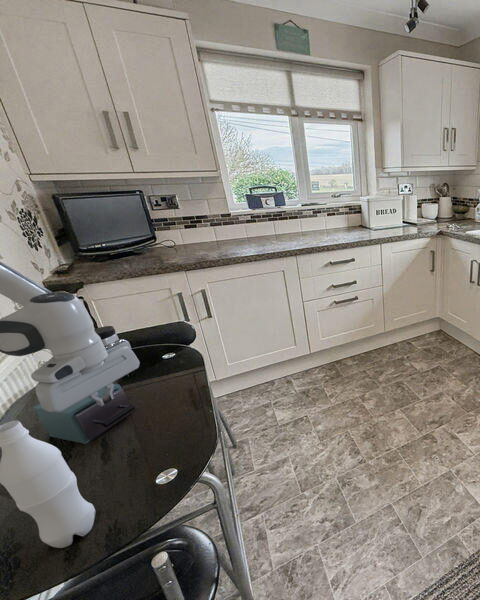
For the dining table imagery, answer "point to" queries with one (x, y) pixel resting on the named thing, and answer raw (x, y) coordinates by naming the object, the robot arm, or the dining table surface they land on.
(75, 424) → the drawer cabinet
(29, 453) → the water bottle
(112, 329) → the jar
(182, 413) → the dining table surface
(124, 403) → the purple drawer
